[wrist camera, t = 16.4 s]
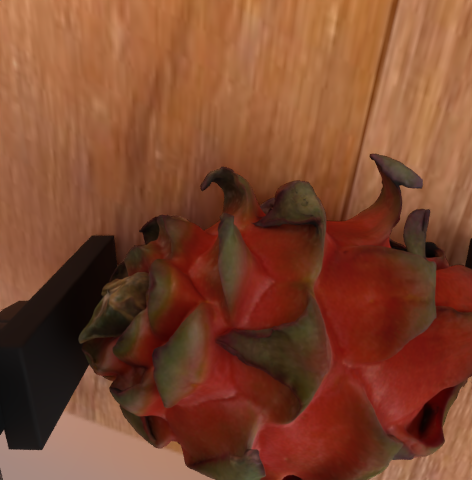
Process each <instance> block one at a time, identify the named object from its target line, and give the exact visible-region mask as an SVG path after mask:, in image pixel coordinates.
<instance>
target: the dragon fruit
mask: <svg viewBox="0 0 472 480" xmlns="http://www.w3.org/2000/svg"><path fill="white" fill-rule="evenodd" d="M370 158H371V159H372V160H374V161H375V163H376V165H377V168H378V170H379V172H380V174H381V177H382V184H383V188H382V189H381V194H380V196H379V197H378V199H377V201H376V202H375V203H374V204H373V205H372V206H370V207H369V208H367V209H366V210H364V211H362V212H360V213H359V214H358V215H356V216H355V217H353V218H351V219H349V220H347V221H326V213H325V210H324V207H323V205H322V203H321V201H320V199H319V198H318V197H317V195H316V194H315V192H314V190H313V187H312V186H311V185H310V183H309V182H305V181H293V182H289V183H287V184H285V185H283V186H281V187H280V188H279V189H278V190H277V191H276V194H275V198H271V199H269V200H267V201H266V202H264V203H263V204H261V206H259V204H258V202H257V200H256V197H255V194H254V192H253V189H252V187H251V186H250V184H249V183H248V182H247V181H246V180H245V179H244V178H243V177H241V176H240V175H238V174H236V173H234V171H233V170H232V169H229V168H227V167H221V168H220V169H217V170H214V171H212V172H210V173H209V174H208V175H207V176H206V177H205V179H204V181H203V182H202V184H201V191H204V190H205V189H207V188H208V187H209V186H210V184H211V182H215V183H217V184H218V185H219V186H220V187H221V188H222V190H223V192H224V208H223V213H222V215H221V216H220V221H218V222H217V223H216V224H214V225H213V226H211V227H210V228H208V229H206V230H202V229H201V228H200V227H199V226H197V225H196V224H194V223H192V222H190V221H188V220H187V219H185V218H183V217H180V216H169V215H160V216H159V217H155V218H153V219H152V220H150V221H149V222H147V223H146V224H145V225H144V226H143V227H142V229H141V230H140V231H139V232H142V233H143V235H144V241H145V244H146V245H142V246H134V247H132V248H131V249H130V251H129V253H128V254H127V255H126V257H125V259H124V262H123V263H121V264H119V265H118V266H117V268H116V269H115V271H114V273H113V274H112V276H111V278H110V281H109V283H107V284H106V285H105V286H104V287H103V289H102V293H101V295H102V296H103V298H102V299H101V301H100V302H99V304H98V305H97V306H96V308H95V309H94V312H93V316H92V318H91V320H90V322H89V323H88V324H87V326H86V327H85V328H82V329H83V330H82V332H81V333H80V335H79V339H78V340H79V343H80V344H81V343H83V345H82V351H83V352H84V354H85V356H86V358H87V360H88V363H89V365H90V366H91V367H92V368H93V370H94V372H95V373H96V374H97V375H102V376H103V377H104V378H106V379H108V380H111V381H113V383H112V384H111V386H110V392H111V394H112V396H113V397H114V399H115V400H116V401H117V402H118V403H119V404H120V408H121V410H122V413H123V415H124V417H125V418H126V419H127V421H128V422H129V423H130V424H131V425H132V427H133V428H134V429H135V431H136V432H137V433H138V434H139V435H141V436H142V437H143V438H144V439H145V440H146V441H148V442H149V443H150V444H151V445H153V446H154V447H155V448H163V447H165V446H167V445H168V444H169V443H170V442H171V441H177V442H178V443H179V444H181V447H182V450H183V455H184V460H185V464H186V466H187V467H189V468H190V469H193V470H195V471H197V472H199V473H201V474H203V475H206V476H208V477H210V478H212V479H215V480H368V479H370V478H372V477H374V476H376V475H378V474H380V473H381V472H383V471H384V470H385V469H386V468H387V467H388V465H389V463H390V461H391V460H399V459H404V460H411V459H413V458H416V457H424V456H428V455H430V454H432V453H434V452H435V451H436V450H437V449H439V448H440V447H441V446H442V445H443V444H444V441H445V440H444V435H443V429H442V428H443V425H444V422H445V419H446V416H447V413H448V411H449V409H450V407H451V405H452V404H453V402H454V401H455V399H456V398H457V396H458V392H459V390H460V389H461V387H462V386H463V387H464V386H465V384H466V383H467V380H468V378H469V377H471V376H472V269H470V268H468V267H465V266H463V265H454V266H449V264H448V261H447V259H446V257H445V252H444V251H443V250H441V249H440V248H438V247H437V246H436V245H435V244H434V243H432V242H426V232H427V227H428V222H429V216H430V210H429V209H428V210H425V209H420V210H419V209H417V210H415V211H413V212H412V213H411V214H410V215H409V216H408V218H407V220H406V223H405V227H404V234H403V237H404V242H405V245H406V247H405V246H404V245H402V244H399V243H397V242H394V241H392V240H391V239H389V236H390V234H391V231H392V229H393V228H394V227H395V226H396V224H397V223H398V222H399V220H400V214H401V209H402V197H401V190H400V187H399V186H400V185H403V186H405V187H408V188H422V186H423V180H422V179H421V178H420V177H419V176H418V175H417V174H416V173H415V172H413V171H412V170H411V169H409V168H408V167H406V166H405V165H404V164H403V163H401V162H399V161H397V160H394V159H392V158H389V157H387V156H382V155H379V154H370Z"/></svg>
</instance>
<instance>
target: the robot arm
mask: <svg viewBox="0 0 472 480" xmlns="http://www.w3.org/2000/svg"><path fill="white" fill-rule="evenodd" d="M465 267H468V268H470V269H472V238H471V240H470V245H469V250H468V255H467V260H466V265H465ZM116 268H117V260H116V251H115V241H114V236H91V237H90V238H89V239H88V240H87V241H86V242H85V243H84V244H83V245H82V246H81V247H80V248H79V250H78V251H77V252H76V253H75V254H74V255H73V256H72V257H71V258H70V259H69V260H68V261H67V262H66V263H65V264H64V265H63V266H62V267H61V268H60V269H59V270H58V271H57V272H56V273H55V274H54V275H53V276H52V277H51V278H50V279H49V280H48V282H47V283H46V284H45V285H44V286H43V287H42V288H41V289H40V290H39V291H38V292H37V293H36V294H35V295H34V296H33V297H32V298H31V299H30V300H29V301H18V302H16V303H14V304H12V305H10V306H9V307H7V308H5V309H3V310H2V311H1V312H0V435H1V433H2V432H3V430H4V431H5V435H6V439H7V443H8V447H9V449H20V450H21V449H23V450H42V449H43V447H44V446H45V444H46V442H47V440H48V438H49V436H50V435H51V433H52V431H53V429H54V427H55V426H56V424H57V422H58V420H59V418H60V416H61V415H62V413H63V411H64V409H65V407H66V406H67V404H68V402H69V400H70V398H71V396H72V395H73V393H74V391H75V389H76V387H77V386H78V384H79V382H80V380H81V378H82V376H83V375H84V373H85V371H86V369H87V367H88V366H89V363H88V360H87V358H86V356H85V354H84V352H83V351H82V345H83V343H81V344H80V343H79V340H78V339H79V335H80V333H81V332H82V330H83V329H82V328H85V327H86V326H87V324H88V323H89V322H90V320H91V318H92V316H93V312H94V309H95V308H96V306H97V305H98V304H99V302H100V301H101V299H102V298H103V296H102V295H101V293H102V289H103V287H104V286H105V285H106V284H107V283H109V281H110V278H111V276H112V274H113V273H114V271H115V269H116ZM0 480H3V478H2V474H1V470H0Z"/></svg>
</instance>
